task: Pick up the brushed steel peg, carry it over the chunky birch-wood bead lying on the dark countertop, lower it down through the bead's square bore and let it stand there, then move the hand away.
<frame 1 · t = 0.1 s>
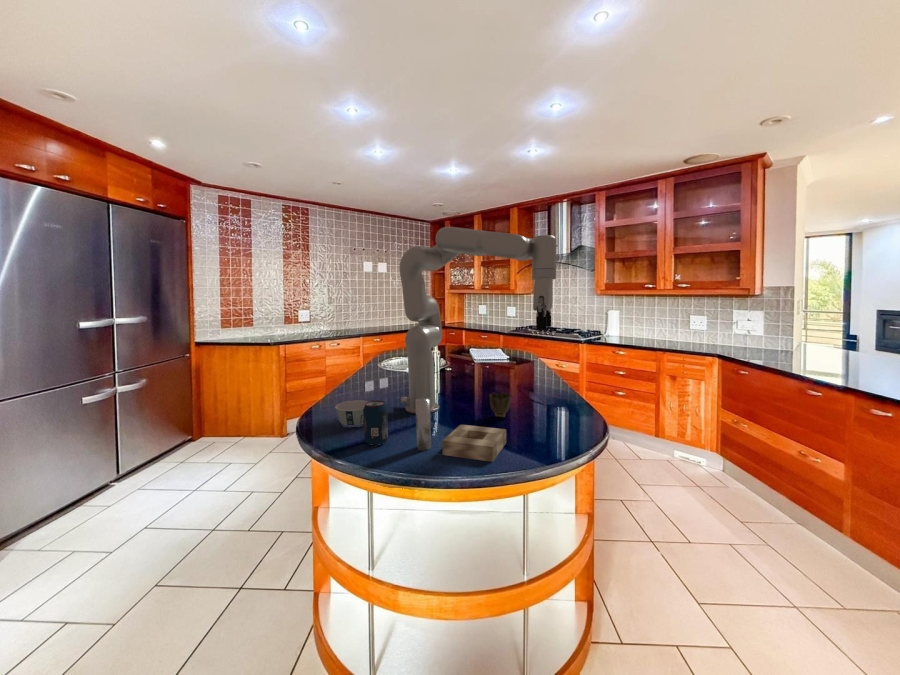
hand: (543, 328, 132), 31 cm above the counter, tool pointing down, fingers open, 9 cm apart
cup: (500, 417, 141), on the counter
wooden bead: (475, 448, 113), on the counter
soda can: (376, 443, 120), on the counter
food container: (354, 424, 138), on the counter
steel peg: (424, 447, 115), on the counter
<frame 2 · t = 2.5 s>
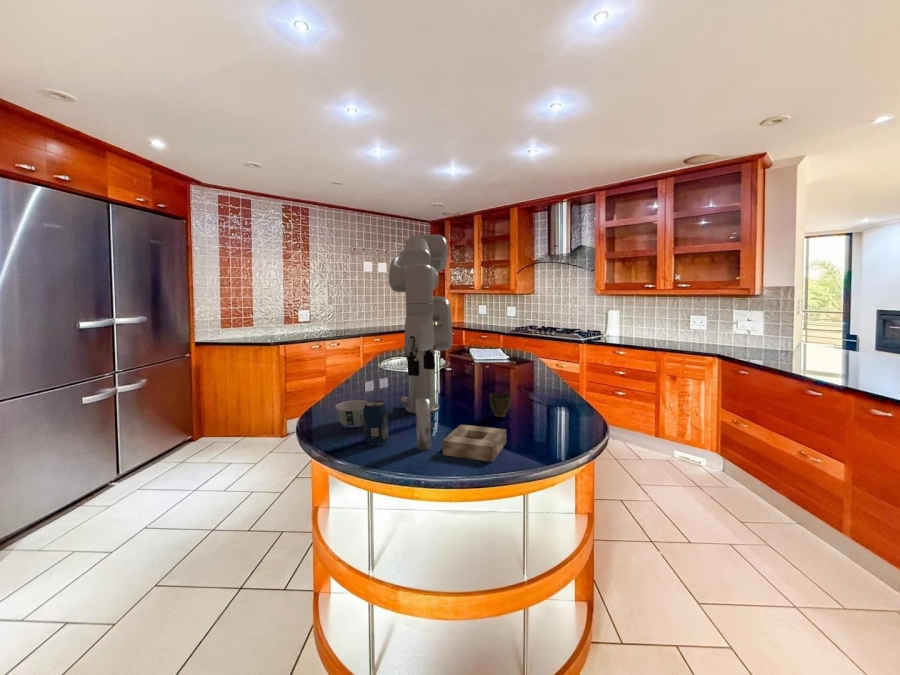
hand: (421, 372, 112), 22 cm above the counter, tool pointing down, fingers open, 9 cm apart
nothing on the counter moved.
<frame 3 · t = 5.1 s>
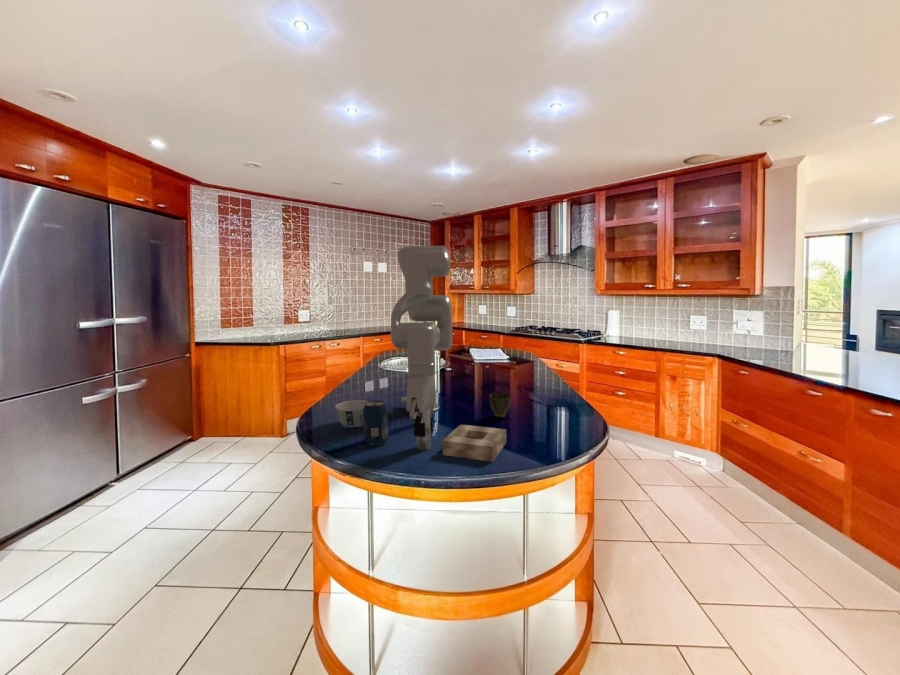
hand: (423, 432, 114), 4 cm above the counter, tool pointing down, fingers closed on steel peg, 4 cm apart
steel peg: (424, 447, 115), on the counter, touching gripper
everything else where it was.
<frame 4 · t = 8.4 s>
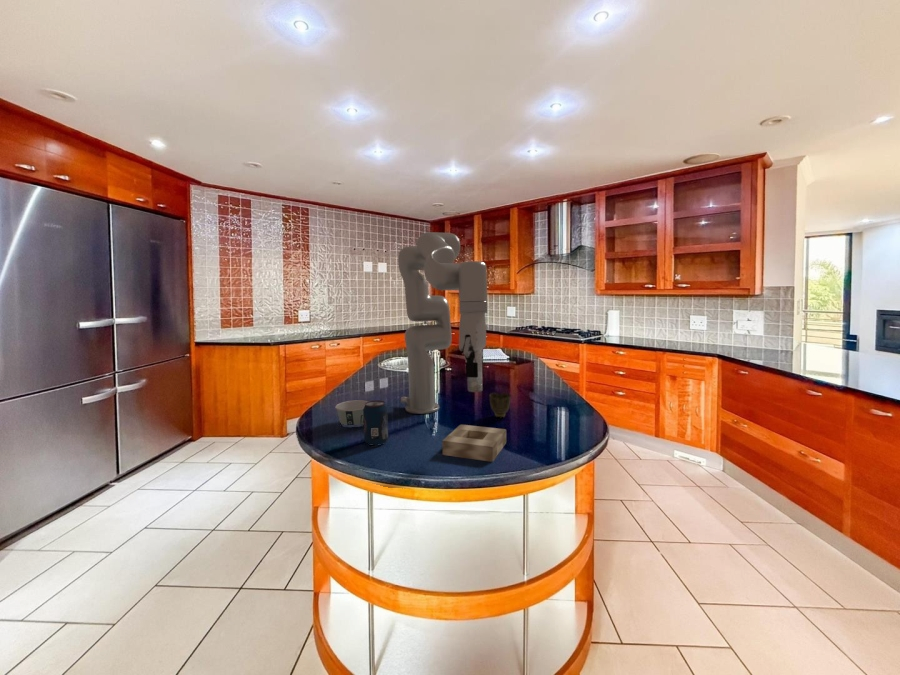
hand: (474, 374, 111), 21 cm above the counter, tool pointing down, fingers closed on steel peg, 4 cm apart
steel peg: (475, 390, 111), point 17 cm above the counter, touching gripper
everything else where it was.
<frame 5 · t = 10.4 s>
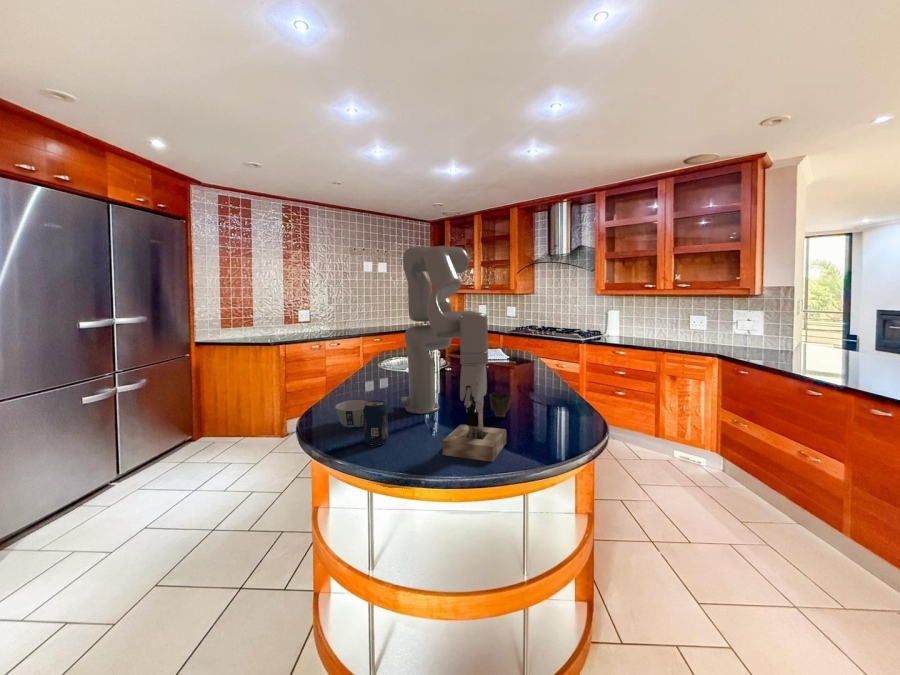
hand: (475, 422, 112), 7 cm above the counter, tool pointing down, fingers closed on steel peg, 4 cm apart
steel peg: (475, 437, 113), point 3 cm above the counter, touching gripper
everything else where it was.
when the fingers open (5 cm above the counter, at t = 12.0 s): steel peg stays where it is, resting in wooden bead.
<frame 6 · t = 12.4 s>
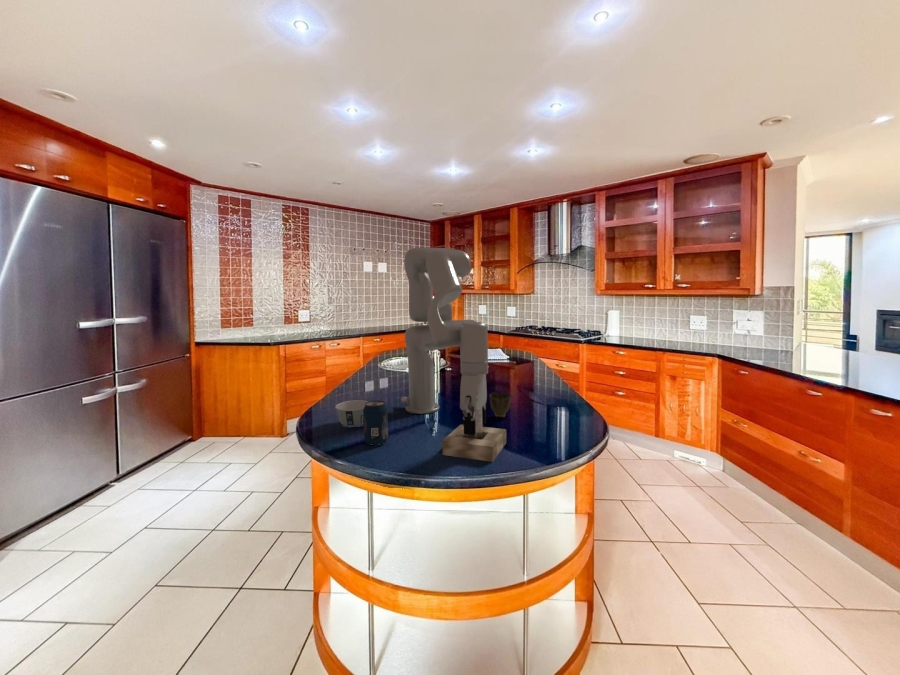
hand: (475, 428, 113), 6 cm above the counter, tool pointing down, fingers open, 8 cm apart
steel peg: (475, 448, 113), resting in wooden bead
everything else where it was.
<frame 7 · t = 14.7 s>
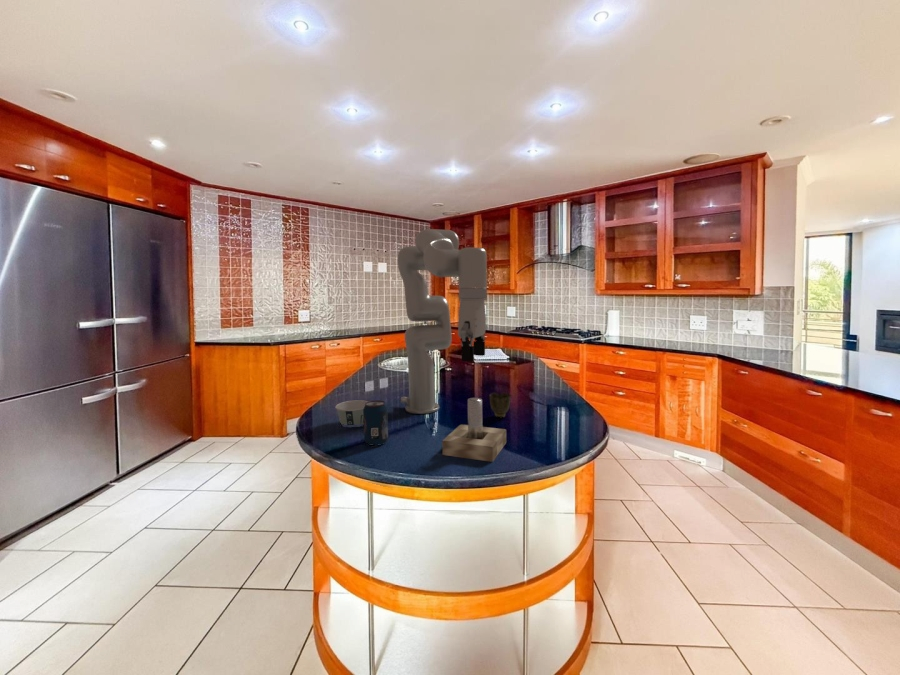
hand: (473, 358, 111), 26 cm above the counter, tool pointing down, fingers open, 9 cm apart
nothing on the counter moved.
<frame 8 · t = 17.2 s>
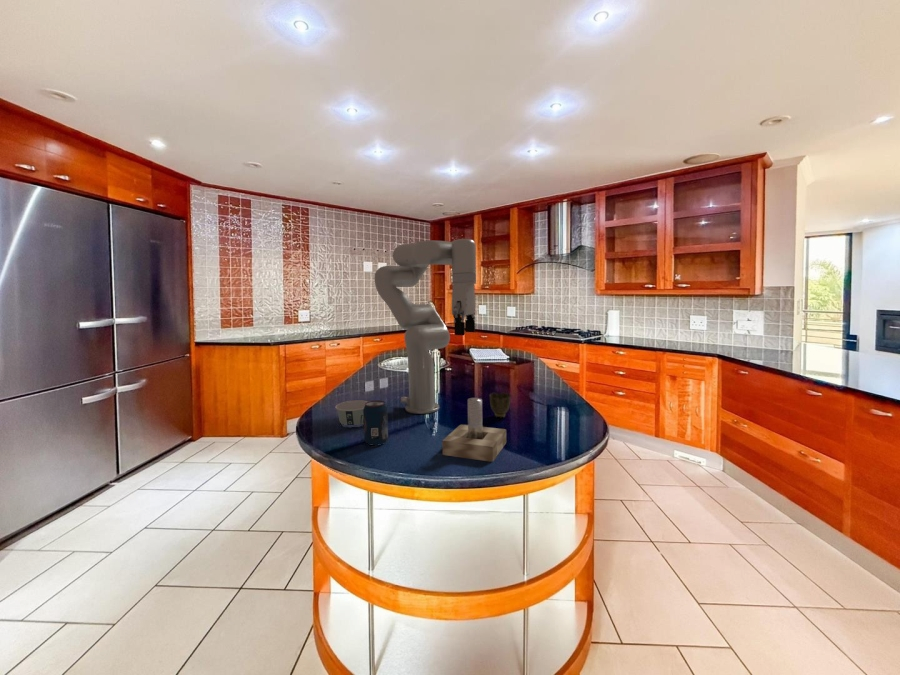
hand: (465, 333, 130), 30 cm above the counter, tool pointing down, fingers open, 9 cm apart
nothing on the counter moved.
at the end: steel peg 0.1 cm from the wooden bead (horizontally); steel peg resting in wooden bead; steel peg tilted 0° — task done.
